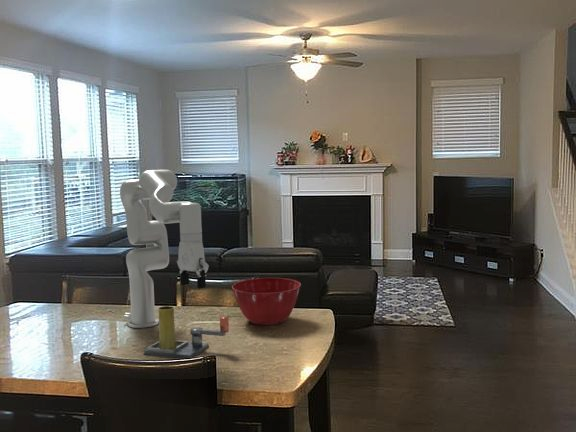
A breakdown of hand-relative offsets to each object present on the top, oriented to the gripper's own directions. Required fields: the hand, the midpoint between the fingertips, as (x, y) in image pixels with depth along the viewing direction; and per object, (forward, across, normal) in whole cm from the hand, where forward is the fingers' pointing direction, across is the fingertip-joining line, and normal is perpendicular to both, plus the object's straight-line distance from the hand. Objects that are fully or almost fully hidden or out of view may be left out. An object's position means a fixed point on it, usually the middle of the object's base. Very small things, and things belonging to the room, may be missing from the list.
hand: (193, 286), depth 212 cm
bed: (+23, -4, -5) cm, 24 cm away
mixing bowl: (+23, -9, +43) cm, 49 cm away
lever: (+17, +4, +3) cm, 18 cm away
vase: (+22, -7, -7) cm, 24 cm away
